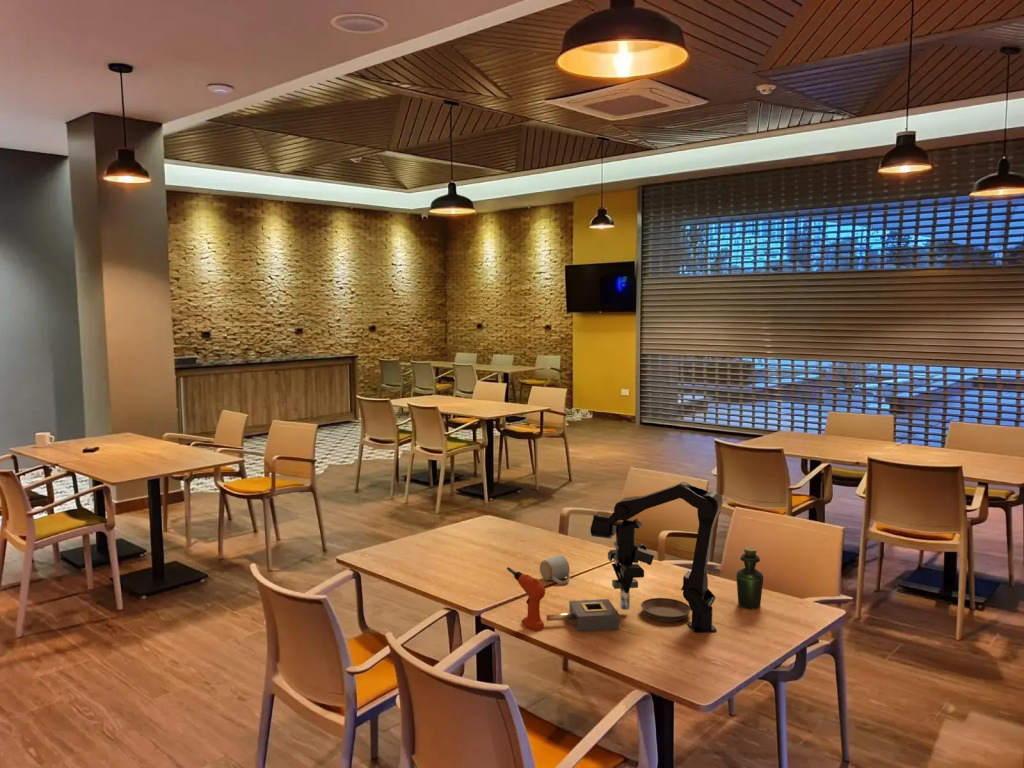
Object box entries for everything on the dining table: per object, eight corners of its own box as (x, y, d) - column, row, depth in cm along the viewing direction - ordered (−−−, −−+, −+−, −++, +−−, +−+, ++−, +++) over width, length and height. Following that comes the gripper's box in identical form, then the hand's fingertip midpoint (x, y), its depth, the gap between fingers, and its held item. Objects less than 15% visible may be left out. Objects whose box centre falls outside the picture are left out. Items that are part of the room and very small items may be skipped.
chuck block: (619, 629, 211) (619, 613, 211) (550, 633, 209) (550, 617, 208) (608, 613, 223) (608, 598, 223) (543, 617, 220) (543, 601, 220)
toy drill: (511, 603, 228) (515, 557, 225) (547, 631, 212) (551, 583, 210) (498, 606, 225) (501, 560, 222) (533, 635, 210) (537, 586, 207)
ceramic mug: (537, 578, 254) (538, 556, 254) (556, 573, 259) (556, 552, 258) (556, 587, 246) (557, 565, 245) (575, 582, 250) (576, 560, 250)
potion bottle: (753, 612, 223) (754, 554, 222) (730, 604, 229) (731, 548, 228) (768, 606, 228) (769, 549, 227) (745, 598, 235) (746, 543, 233)
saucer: (691, 608, 227) (691, 599, 227) (690, 627, 213) (690, 618, 213) (643, 603, 231) (643, 595, 231) (638, 622, 217) (638, 613, 217)
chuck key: (637, 609, 222) (638, 581, 221) (614, 610, 221) (614, 583, 220) (635, 605, 224) (635, 578, 224) (612, 606, 224) (612, 579, 223)
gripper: (661, 548, 213) (661, 601, 214) (642, 530, 231) (641, 579, 232) (624, 550, 211) (623, 603, 213) (607, 532, 230) (607, 580, 231)
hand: (625, 591), depth 222 cm, fingers closed on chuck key, 3 cm apart
